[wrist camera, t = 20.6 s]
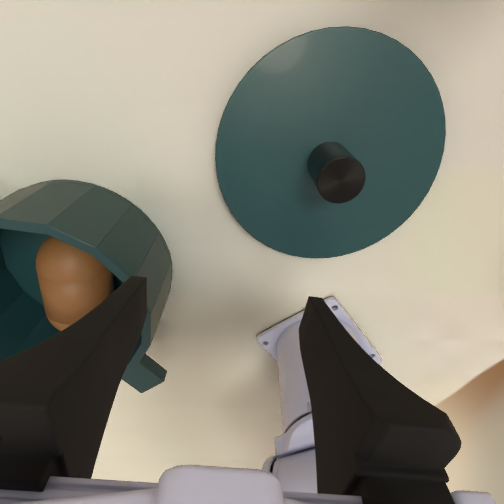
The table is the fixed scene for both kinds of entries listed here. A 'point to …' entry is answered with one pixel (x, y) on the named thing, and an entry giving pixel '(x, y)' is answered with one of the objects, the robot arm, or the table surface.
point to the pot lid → (330, 142)
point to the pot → (90, 241)
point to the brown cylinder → (70, 282)
